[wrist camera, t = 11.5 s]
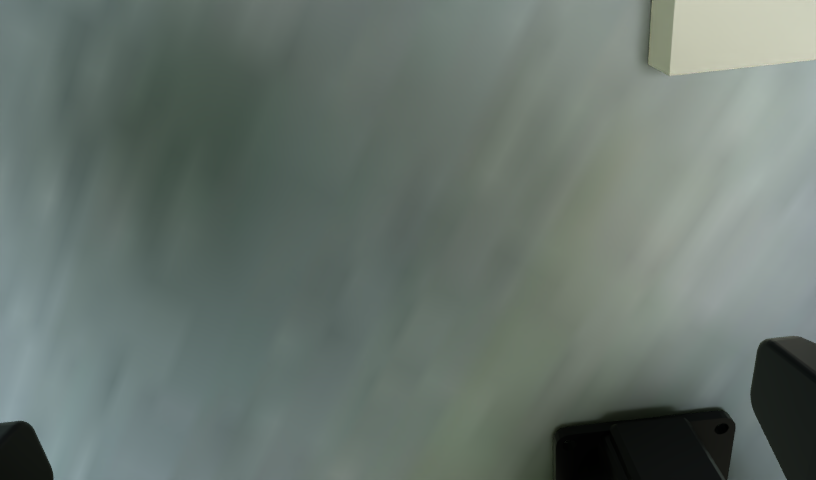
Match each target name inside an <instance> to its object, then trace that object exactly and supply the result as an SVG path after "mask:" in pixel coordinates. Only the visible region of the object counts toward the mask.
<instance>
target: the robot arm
mask: <svg viewBox="0 0 816 480" xmlns="http://www.w3.org/2000/svg"><path fill="white" fill-rule="evenodd" d="M750 395H751V403H752V407H753V410H754V413H755V415H756V417H757V419H758V421H759V423H760V425H761V427H762V429H763V431H764V434H765V436H766V438H767V440H768V442H769V444H770V446H771V448H772V450H773V452H774V454H775V456H776V458H777V460H778V462H779V464H780V466H781V468H782V470H783V473H784V475H785V477H786V479H787V480H816V343H813V342H811V341H809V340H806V339H804V338H802V337H798V336H787V337H778V338H769V339H765V340H764V341H762V342H761V343H760V345H759V347H758V350H757V355H756V361H755V367H754V373H753V379H752V385H751V394H750ZM719 424H721V425H719ZM717 425H719V426H717ZM734 433H735V423H734V421H733V420H732V418H731V417H730V416H729V414H728V413H727V412H725V411H709V412H700V413H691V414H682V415H672V416H663V417H654V418H645V419H636V420H626V421H617V422H608V423H599V424H589V425H580V426H571V427H565V428H561V429H560V430H558V431H557V432H556V433H555V434H554V437H553V480H727V478H728V472H729V465H730V459H731V453H732V446H733V440H734ZM567 440H572V441H570V442H568V443H564V442H565V441H567ZM0 480H53V471H52V468H51V465H50V463H49V461H48V459H47V457H46V454H45V452H44V450H43V448H42V446H41V444H40V441H39V439H38V437H37V435H36V433H35V431H34V429H33V427H32V426H31V425H30V424H29V423H27V422H24V421H14V422H5V423H0Z"/></svg>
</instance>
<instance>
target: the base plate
mask: <svg viewBox="0 0 816 480" xmlns="http://www.w3.org/2000/svg"><path fill="white" fill-rule="evenodd" d="M809 60H816V0H652V6H651V23H650V39H649V56H648V65H650V66H652V67H654V68H656V69H658V70H659V71H661V72H663V73H665V74H667V75H668V76H674V75H683V74H692V73H701V72H710V71H719V70H728V69H737V68H746V67H755V66H764V65H773V64H782V63H791V62H800V61H809Z"/></svg>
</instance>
